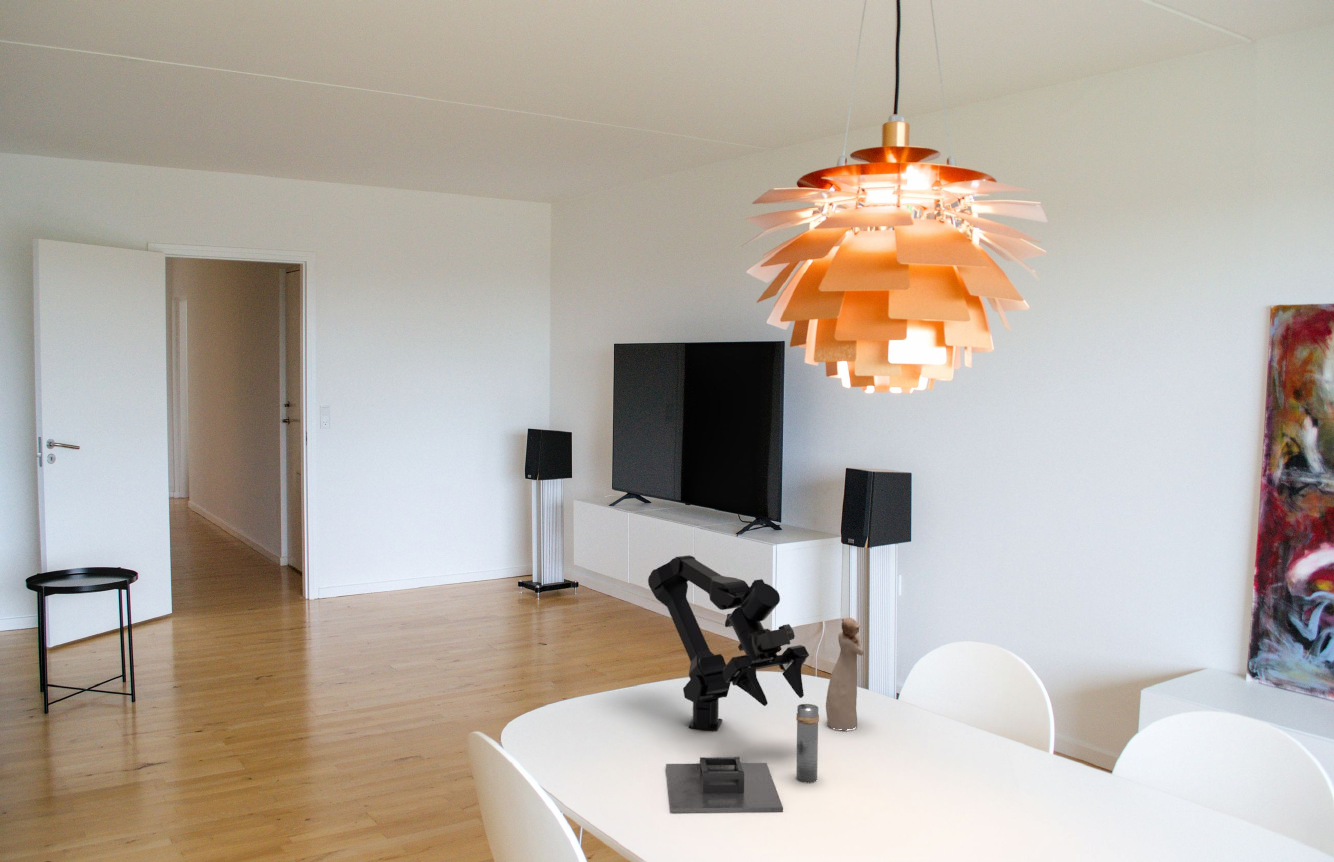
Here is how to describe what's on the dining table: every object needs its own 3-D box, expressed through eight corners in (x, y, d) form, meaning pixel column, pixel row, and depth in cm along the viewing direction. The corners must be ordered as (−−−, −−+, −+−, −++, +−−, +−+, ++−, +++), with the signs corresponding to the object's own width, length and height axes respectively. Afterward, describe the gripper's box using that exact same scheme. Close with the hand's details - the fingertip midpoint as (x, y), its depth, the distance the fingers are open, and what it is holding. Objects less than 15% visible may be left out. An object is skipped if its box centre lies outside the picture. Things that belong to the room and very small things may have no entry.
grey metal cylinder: (796, 772, 189) (798, 702, 188) (819, 775, 188) (820, 704, 187) (794, 781, 185) (795, 709, 184) (816, 784, 184) (818, 712, 183)
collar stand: (666, 767, 191) (666, 745, 191) (766, 766, 192) (766, 744, 192) (670, 812, 171) (671, 788, 171) (782, 811, 172) (783, 786, 172)
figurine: (854, 735, 210) (856, 621, 208) (819, 726, 215) (821, 615, 213) (869, 725, 216) (872, 614, 214) (835, 716, 221) (837, 608, 220)
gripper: (731, 617, 190) (765, 688, 182) (803, 606, 200) (839, 672, 192) (708, 647, 197) (739, 716, 189) (779, 635, 207) (812, 700, 199)
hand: (784, 700), depth 192 cm, fingers open, 9 cm apart
